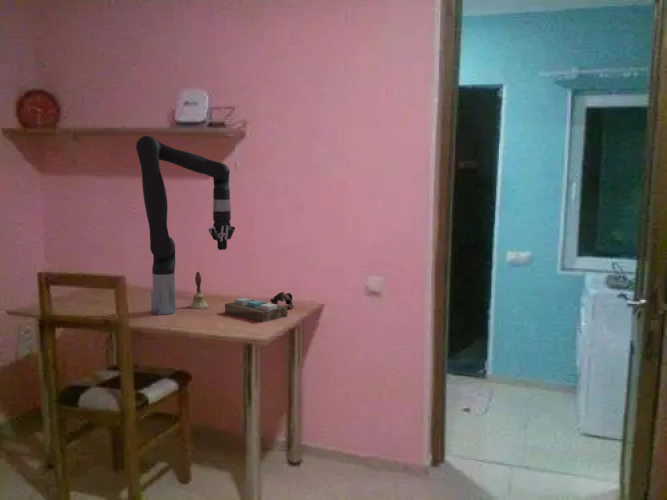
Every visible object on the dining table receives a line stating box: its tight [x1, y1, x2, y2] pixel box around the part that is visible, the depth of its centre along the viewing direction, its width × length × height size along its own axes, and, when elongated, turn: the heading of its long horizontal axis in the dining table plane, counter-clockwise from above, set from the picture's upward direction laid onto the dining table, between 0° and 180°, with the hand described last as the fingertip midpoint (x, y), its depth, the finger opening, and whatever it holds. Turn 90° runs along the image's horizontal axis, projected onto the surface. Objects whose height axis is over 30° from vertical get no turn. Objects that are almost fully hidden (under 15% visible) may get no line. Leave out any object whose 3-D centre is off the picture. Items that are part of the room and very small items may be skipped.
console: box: [224, 299, 288, 323], centre depth 263 cm, size 14×24×4 cm, turn 50°
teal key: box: [248, 299, 265, 308], centre depth 263 cm, size 5×5×2 cm
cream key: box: [260, 302, 277, 311], centre depth 258 cm, size 5×5×2 cm
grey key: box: [234, 297, 253, 305], centre depth 268 cm, size 5×5×2 cm
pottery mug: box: [269, 291, 294, 310], centre depth 278 cm, size 12×10×8 cm
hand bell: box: [189, 271, 209, 310], centre depth 276 cm, size 8×8×16 cm
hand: (222, 249), depth 268 cm, fingers closed
